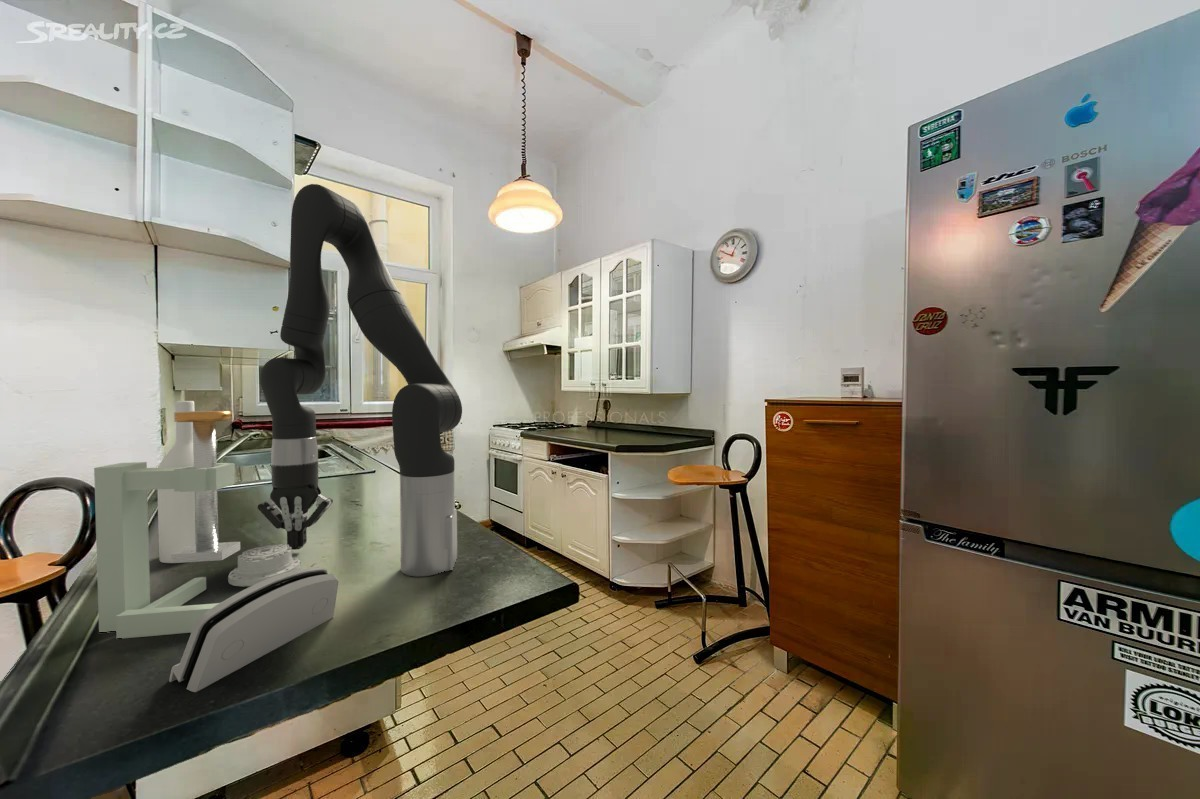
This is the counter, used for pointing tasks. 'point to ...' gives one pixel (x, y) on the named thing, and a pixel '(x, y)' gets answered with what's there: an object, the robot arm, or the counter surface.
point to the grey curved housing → (255, 624)
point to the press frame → (142, 548)
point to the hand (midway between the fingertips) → (296, 548)
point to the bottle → (177, 494)
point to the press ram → (205, 500)
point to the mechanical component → (263, 564)
